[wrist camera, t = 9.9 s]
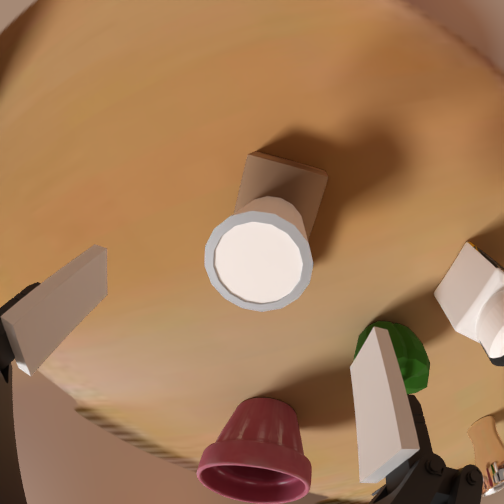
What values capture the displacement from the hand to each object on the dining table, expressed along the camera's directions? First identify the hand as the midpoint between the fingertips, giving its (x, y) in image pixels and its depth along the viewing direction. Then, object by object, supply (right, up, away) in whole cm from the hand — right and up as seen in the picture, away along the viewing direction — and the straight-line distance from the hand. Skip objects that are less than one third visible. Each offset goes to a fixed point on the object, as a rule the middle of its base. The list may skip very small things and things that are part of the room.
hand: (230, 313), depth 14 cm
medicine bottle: (+25, 0, +14) cm, 29 cm away
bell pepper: (+16, -7, +19) cm, 26 cm away
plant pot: (+3, -21, +27) cm, 34 cm away
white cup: (+2, +5, +12) cm, 13 cm away
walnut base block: (+3, +6, +15) cm, 17 cm away
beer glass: (+43, -29, +23) cm, 57 cm away
